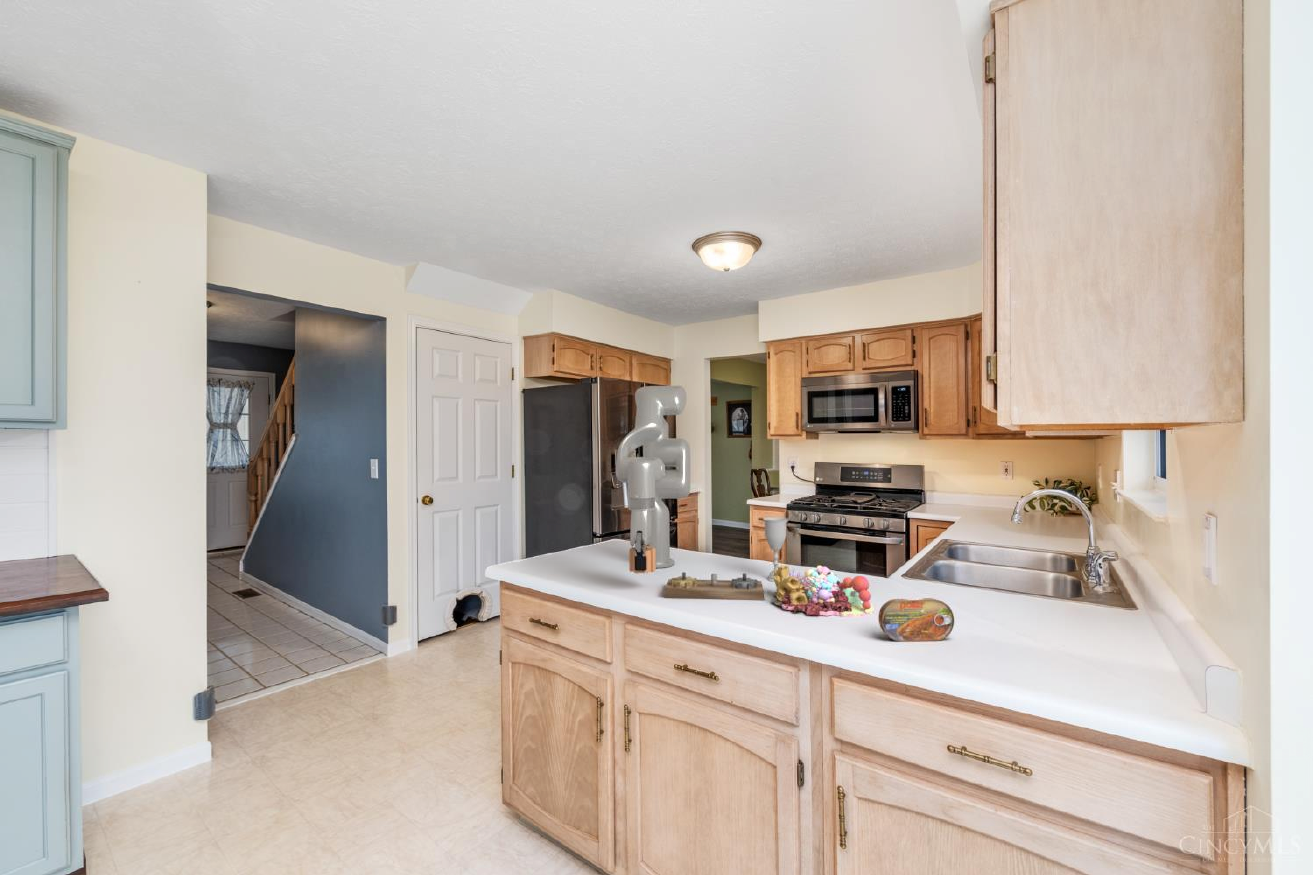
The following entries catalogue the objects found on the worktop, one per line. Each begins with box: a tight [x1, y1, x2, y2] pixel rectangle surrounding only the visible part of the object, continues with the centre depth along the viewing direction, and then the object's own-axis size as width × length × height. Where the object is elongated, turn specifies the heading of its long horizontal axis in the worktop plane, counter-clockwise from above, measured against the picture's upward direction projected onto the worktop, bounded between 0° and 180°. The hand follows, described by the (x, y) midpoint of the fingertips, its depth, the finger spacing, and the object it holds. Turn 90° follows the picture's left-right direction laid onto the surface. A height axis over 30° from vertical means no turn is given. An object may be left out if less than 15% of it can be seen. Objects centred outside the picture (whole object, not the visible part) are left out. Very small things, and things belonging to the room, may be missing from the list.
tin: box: [877, 597, 955, 643], centre depth 118 cm, size 15×3×8 cm, turn 91°
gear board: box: [663, 572, 765, 601], centre depth 155 cm, size 12×26×5 cm, turn 83°
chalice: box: [762, 516, 789, 583], centre depth 168 cm, size 7×7×18 cm
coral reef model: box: [771, 564, 875, 618], centre depth 145 cm, size 25×24×9 cm
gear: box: [628, 546, 657, 574], centre depth 160 cm, size 7×7×6 cm
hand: (642, 566), depth 160 cm, fingers closed on gear, 7 cm apart
